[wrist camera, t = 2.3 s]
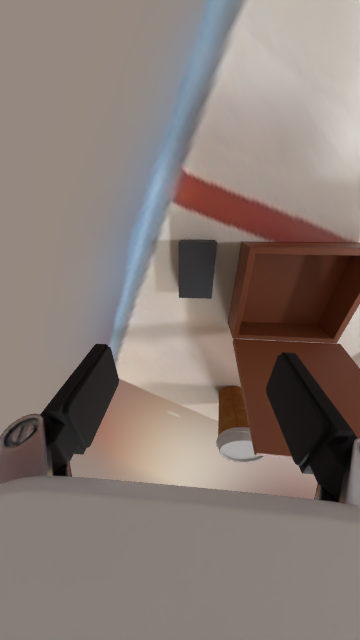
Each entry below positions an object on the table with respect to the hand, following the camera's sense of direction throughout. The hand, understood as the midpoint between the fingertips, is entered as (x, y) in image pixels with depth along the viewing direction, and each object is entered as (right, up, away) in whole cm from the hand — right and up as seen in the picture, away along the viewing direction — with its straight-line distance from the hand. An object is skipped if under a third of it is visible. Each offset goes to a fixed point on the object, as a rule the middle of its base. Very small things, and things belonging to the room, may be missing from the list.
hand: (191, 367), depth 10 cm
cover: (+15, -5, +11) cm, 19 cm away
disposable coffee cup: (+12, -15, +32) cm, 38 cm away
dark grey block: (+2, +11, +17) cm, 20 cm away
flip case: (+16, +8, +18) cm, 25 cm away
